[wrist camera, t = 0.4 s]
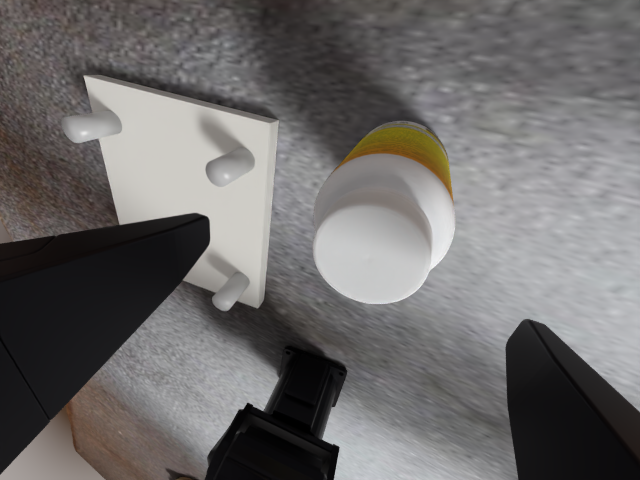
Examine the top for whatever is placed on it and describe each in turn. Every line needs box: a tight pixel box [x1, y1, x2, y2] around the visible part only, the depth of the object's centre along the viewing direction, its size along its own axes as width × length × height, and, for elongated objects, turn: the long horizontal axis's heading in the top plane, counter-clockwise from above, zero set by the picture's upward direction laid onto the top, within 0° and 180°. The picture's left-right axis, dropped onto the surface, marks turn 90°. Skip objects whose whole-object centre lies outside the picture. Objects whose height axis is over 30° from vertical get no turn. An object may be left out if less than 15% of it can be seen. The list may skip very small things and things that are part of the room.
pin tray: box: [61, 75, 279, 311], centre depth 23 cm, size 16×14×4 cm
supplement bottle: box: [313, 121, 455, 304], centre depth 14 cm, size 6×6×10 cm
